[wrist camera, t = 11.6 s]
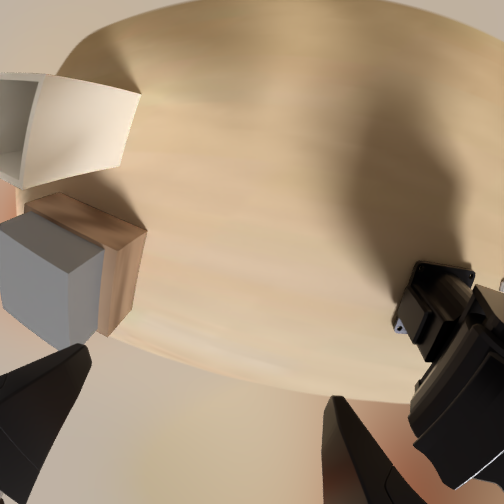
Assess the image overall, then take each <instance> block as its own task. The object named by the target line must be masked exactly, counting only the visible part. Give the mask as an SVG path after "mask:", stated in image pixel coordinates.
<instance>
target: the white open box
mask: <svg viewBox="0 0 504 504" xmlns="http://www.w3.org/2000/svg"><path fill="white" fill-rule="evenodd" d="M141 95H142V94H138V93H134V92H131V91H127V90H123V89H119V88H115V87H111V86H106V85H102V84H98V83H93V82H88V81H83V80H78V79H73V78H67V77H62V76H55V75H49V74H37V73H36V74H35V73H0V179H2V180H4V181H6V182H8V183H10V184H12V185H14V186H16V187H18V188H19V189H21V190H24V189H27V188H31V187H34V186H38V185H41V184H45V183H49V182H52V181H56V180H60V179H64V178H68V177H72V176H76V175H81V174H85V173H90V172H94V171H99V170H104V169H109V168H114V167H119V166H120V163H121V159H122V155H123V152H124V148H125V144H126V141H127V138H128V134H129V131H130V128H131V124H132V121H133V118H134V115H135V112H136V109H137V106H138V103H139V100H140V97H141Z"/></svg>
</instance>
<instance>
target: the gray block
mask: <svg viewBox="0 0 504 504" xmlns="http://www.w3.org/2000/svg"><path fill="white" fill-rule="evenodd" d="M104 252H105V249H103V248H101V247H99V246H97V245H95V244H93V243H91V242H89V241H87V240H85V239H83V238H81V237H79V236H77V235H75V234H73V233H72V232H70V231H68V230H66V229H64V228H62V227H60V226H58V225H56V224H54V223H52V222H51V221H49V220H47V219H45V218H43V217H41V216H39V215H38V214H36V213H34V212H32V211H30V212H27V213H24V214H22V215H19V216H17V217H15V218H12V219H10V220H7V221H5V222H3V223H0V293H1V299H2V305H3V308H4V309H5V310H6V311H7V312H8V313H9V314H11V315H12V316H13V317H14V318H16V319H17V320H18V321H19V322H20V323H22V324H23V325H24V326H25V327H27V328H28V329H29V330H31V331H32V332H33V333H35V334H36V335H37V336H39V337H40V338H41V339H43V340H44V341H46V342H47V343H48V344H50V345H51V346H53V347H54V348H56V349H57V350H59V351H60V350H62V349H64V348H67V347H69V346H71V345H74V344H76V343H80V344H83V345H84V343H85V342H86V341H87V340H88V339H89V338H90V337H91V336H92V335H93V333H94V332H95V331H96V330H97V329H98V311H99V297H100V286H101V276H102V267H103V259H104Z"/></svg>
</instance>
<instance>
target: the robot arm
mask: <svg viewBox="0 0 504 504" xmlns="http://www.w3.org/2000/svg"><path fill="white" fill-rule="evenodd" d="M420 266H422V269H420V270H419V267H420ZM470 274H471V276H470ZM469 276H470V277H469ZM474 278H475V272H474V271H473V270H471V269H467V268H461V267H455V266H449V265H443V264H438V263H432V262H426V261H418V262H417V263H416V264H415V266H414V269H413V272H412V276H411V279H410V282H409V285H408V286H407V287H406V289H405V292H404V295H403V298H402V301H401V303H400V306H399V309H398V312H397V318H396V320H395V323H394V326H393V329H394V331H395V332H396V333H401V334H408V335H409V337H410V339H411V341H412V343H413V344H416V345H417V347H418V348H419V350H420V352H421V354H422V356H423V358H424V360H425V362H432V364H431V366H430V367H429V369H428V370H427V372H426V373H425V374H424V376H423V377H422V379H421V380H419V381H418V382H417V383H416V385H415V394H414V396H413V398H412V400H411V406H410V414H409V415H408V420H409V423H410V426H411V429H412V431H413V432H414V434H415V436H416V437H417V438H418V439H417V440H416V441H415V442H414V443H413V446H414V447H415V448H416V449H417V450H419V451H420V452H422V453H423V454H424V455H425V456H426V457H427V458H428V459H429V460H430V461H431V462H432V464H433V465H434V467H435V469H436V471H437V472H438V474H439V476H440V478H441V480H442V482H443V483H444V484H445V485H447V486H448V487H450V488H452V489H454V490H455V489H458V488H459V487H461V486H462V485H464V484H465V483H466V482H468V481H469V480H470V479H472V478H473V479H477V480H481V481H486V482H490V483H495V484H497V485H498V486H499V487H500V488H501V489H502V491H503V492H504V293H501V292H498V291H495V290H492V289H490V288H487V287H484V286H481V285H478V284H475V286H474V288H473V291H472V290H471V286H472V284H473V281H474ZM399 326H401V327H400V328H398V327H399ZM91 364H92V361H91V357H90V354H89V350H88V348H87V346H86V345H83V344H80V343H76V344H74V345H71V346H69V347H67V348H64V349H62V350H60V351H57V352H56V353H53V354H51V355H48V356H46V357H44V358H41V359H39V360H37V361H34V362H32V363H30V364H27V365H25V366H23V367H20V368H18V369H16V370H13V371H11V372H9V373H6V374H4V375H1V376H0V504H4V501H3V499H2V498H1V497H2V495H3V493H5V494H6V495H7V496H9V497H10V498H11V499H13V500H14V501H15V502H17V503H18V504H26V503H27V500H28V497H29V495H30V493H31V491H32V488H33V486H34V483H35V481H36V479H37V477H38V475H39V473H40V470H41V468H42V466H43V464H44V461H45V459H46V457H47V455H48V453H49V451H50V449H51V447H52V445H53V443H54V441H55V439H56V437H57V435H58V433H59V431H60V429H61V427H62V425H63V423H64V422H65V420H66V418H67V416H68V414H69V412H70V410H71V408H72V407H73V405H74V403H75V401H76V399H77V397H78V395H79V393H80V391H81V389H82V386H83V384H84V382H85V379H86V377H87V375H88V373H89V370H90V368H91ZM321 455H322V475H323V497H324V498H323V499H324V504H427V503H426V502H425V501H424V500H423V499H422V498H421V497H420V496H419V495H418V494H417V493H416V492H415V491H414V490H413V489H412V488H411V487H410V485H409V484H408V483H407V482H406V481H405V480H404V478H403V477H402V476H401V475H400V473H399V472H398V471H397V469H396V468H395V467H394V466H393V464H392V463H391V461H390V460H389V458H388V457H387V456H386V454H385V453H384V452H383V450H382V449H381V448H380V446H379V445H378V444H377V442H376V441H375V439H374V438H373V437H372V435H371V434H370V432H369V431H368V430H367V428H366V427H365V426H364V424H363V423H362V421H361V420H360V419H359V418H358V416H357V415H356V413H355V412H354V411H353V409H352V408H351V406H350V405H349V403H348V402H347V401H346V399H345V398H344V397H343V396H335V395H333V396H331V397H330V399H329V401H328V403H327V406H326V408H325V410H324V416H323V434H322V450H321Z"/></svg>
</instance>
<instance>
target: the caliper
mask: <svg viewBox="0 0 504 504" xmlns="http://www.w3.org/2000/svg"><path fill="white" fill-rule="evenodd" d="M499 291H502V292H504V281H502V282H501V286H500V290H499Z"/></svg>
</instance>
